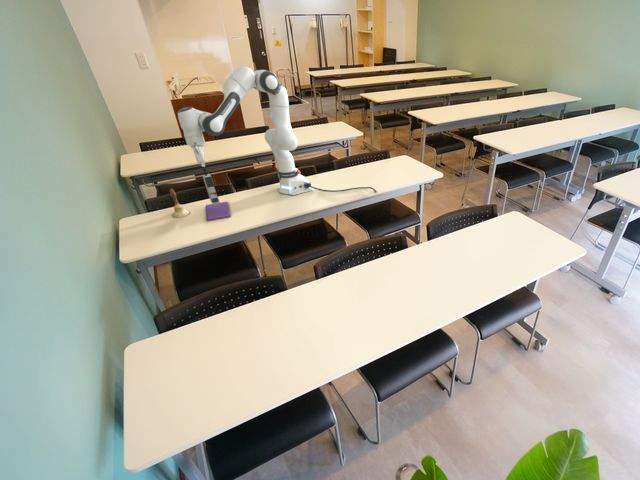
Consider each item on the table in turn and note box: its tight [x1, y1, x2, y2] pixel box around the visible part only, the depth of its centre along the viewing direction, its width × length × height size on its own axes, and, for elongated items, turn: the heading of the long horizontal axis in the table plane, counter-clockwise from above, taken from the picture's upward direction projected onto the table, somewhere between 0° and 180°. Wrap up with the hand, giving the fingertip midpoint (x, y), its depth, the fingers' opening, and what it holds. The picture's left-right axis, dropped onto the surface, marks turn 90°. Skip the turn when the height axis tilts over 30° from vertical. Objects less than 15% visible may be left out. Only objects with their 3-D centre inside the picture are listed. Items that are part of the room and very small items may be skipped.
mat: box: [206, 201, 231, 221], centre depth 206 cm, size 12×22×1 cm, turn 27°
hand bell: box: [169, 188, 190, 218], centre depth 198 cm, size 8×8×16 cm
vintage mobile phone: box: [201, 166, 221, 205], centre depth 195 cm, size 4×5×25 cm
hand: (203, 165), depth 190 cm, fingers closed on vintage mobile phone
